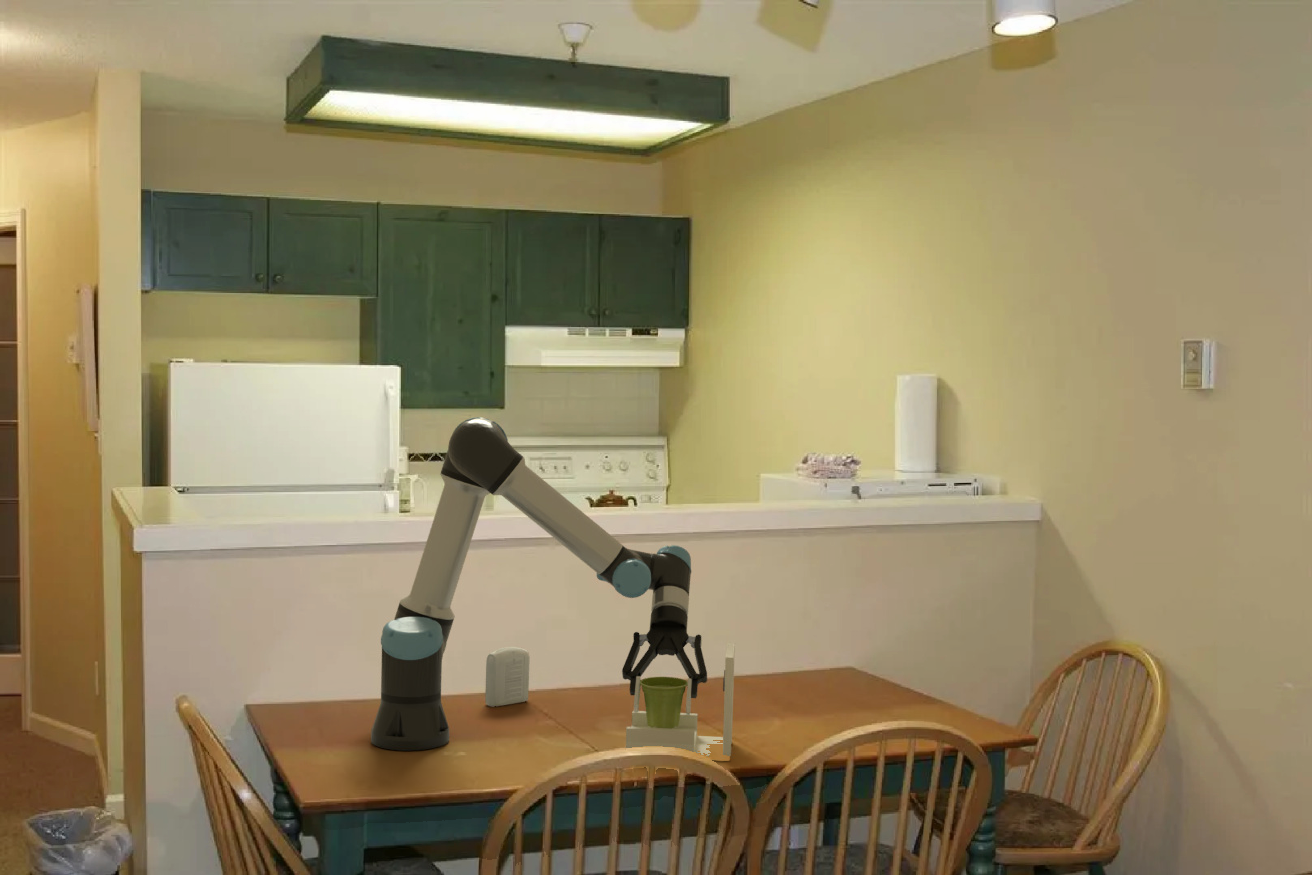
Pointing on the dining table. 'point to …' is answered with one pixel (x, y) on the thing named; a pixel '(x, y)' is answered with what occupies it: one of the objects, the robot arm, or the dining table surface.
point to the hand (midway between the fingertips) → (662, 709)
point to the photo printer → (507, 676)
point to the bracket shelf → (687, 723)
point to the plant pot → (663, 700)
